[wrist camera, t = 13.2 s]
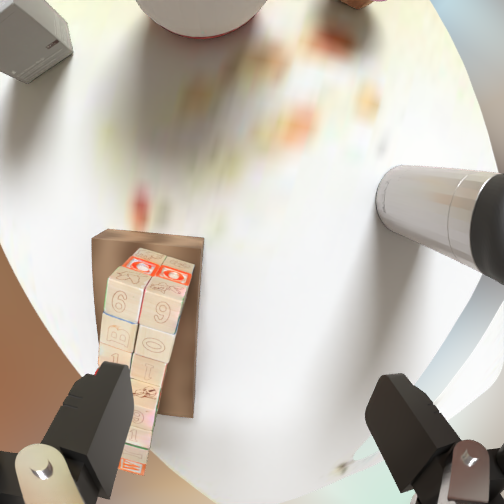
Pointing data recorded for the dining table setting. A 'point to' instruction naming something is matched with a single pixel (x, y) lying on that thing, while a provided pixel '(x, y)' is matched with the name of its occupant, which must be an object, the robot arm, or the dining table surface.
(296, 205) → the dining table surface
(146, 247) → the walnut block
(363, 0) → the cupcake
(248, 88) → the dining table surface
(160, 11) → the citrus juicer
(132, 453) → the stack of blocks
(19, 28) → the skincare box
